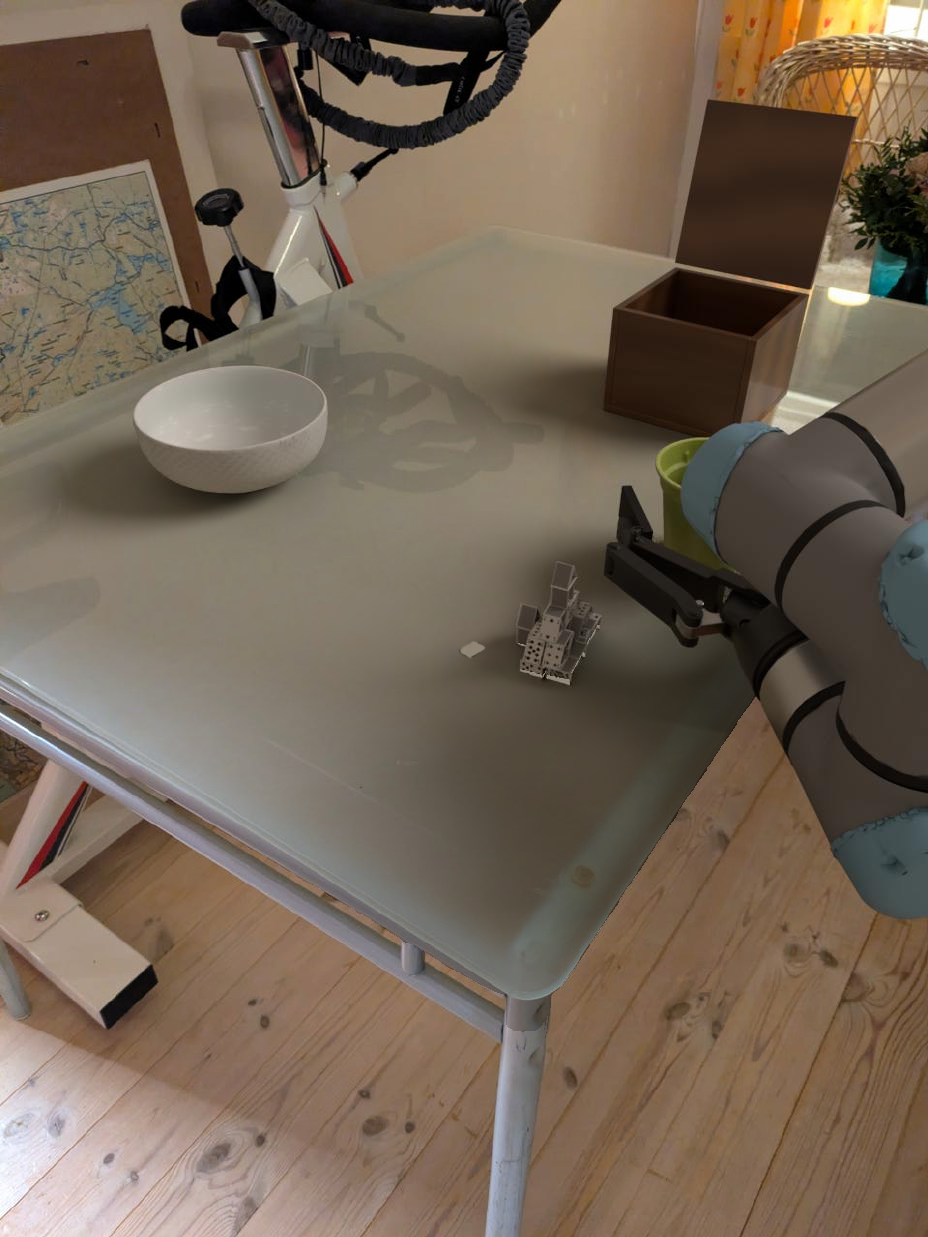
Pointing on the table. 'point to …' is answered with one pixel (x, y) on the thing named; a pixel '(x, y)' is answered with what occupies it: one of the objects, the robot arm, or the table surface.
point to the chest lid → (764, 191)
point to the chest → (702, 351)
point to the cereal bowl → (232, 427)
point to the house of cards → (556, 628)
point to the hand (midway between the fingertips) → (709, 495)
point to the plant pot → (676, 526)
